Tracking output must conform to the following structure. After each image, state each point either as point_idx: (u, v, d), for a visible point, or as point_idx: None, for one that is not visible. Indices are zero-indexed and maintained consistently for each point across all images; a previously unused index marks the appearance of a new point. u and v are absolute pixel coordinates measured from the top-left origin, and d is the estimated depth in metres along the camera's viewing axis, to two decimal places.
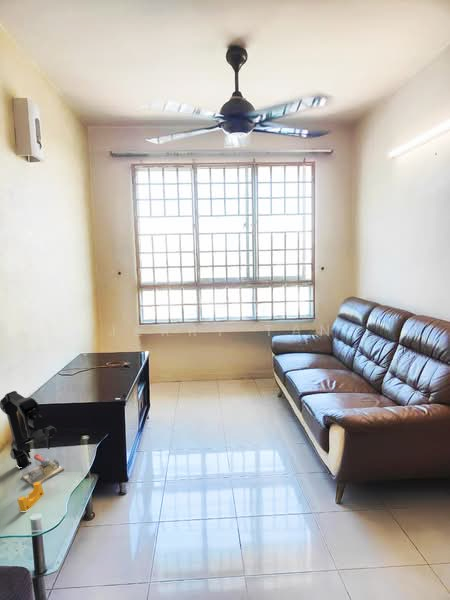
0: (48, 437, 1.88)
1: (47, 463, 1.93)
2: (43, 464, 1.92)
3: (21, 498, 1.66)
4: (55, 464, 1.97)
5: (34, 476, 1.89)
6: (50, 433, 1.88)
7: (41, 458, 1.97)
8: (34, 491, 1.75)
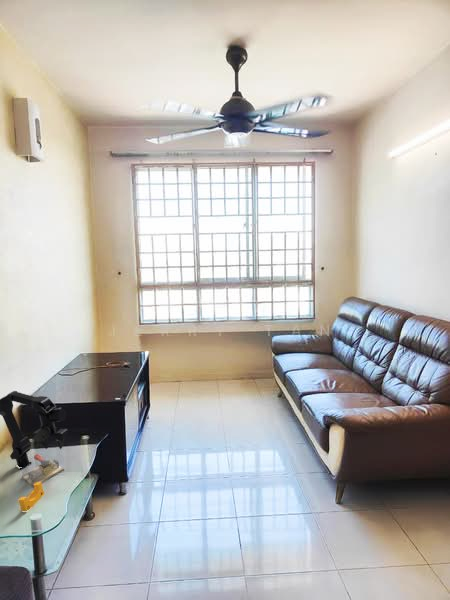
0: (56, 439, 1.96)
1: (47, 463, 1.93)
2: (43, 464, 1.92)
3: (22, 498, 1.66)
4: (55, 464, 1.97)
5: (34, 476, 1.89)
6: (55, 437, 1.95)
7: (41, 458, 1.97)
8: (35, 491, 1.75)
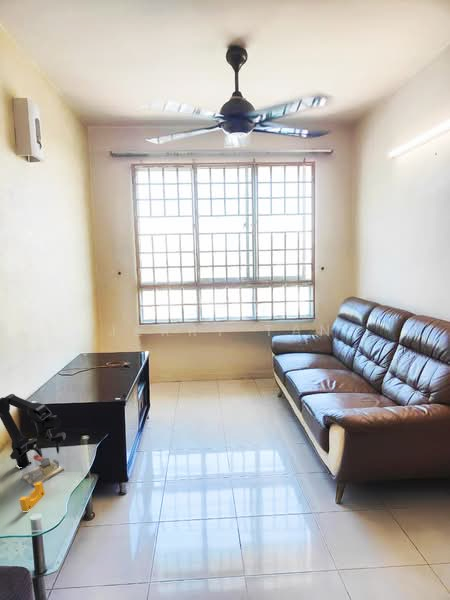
0: (55, 444, 1.99)
1: (47, 463, 1.93)
2: (43, 464, 1.92)
3: (23, 498, 1.66)
4: (55, 464, 1.97)
5: (34, 476, 1.89)
6: (56, 440, 1.98)
7: (41, 458, 1.97)
8: (35, 491, 1.75)
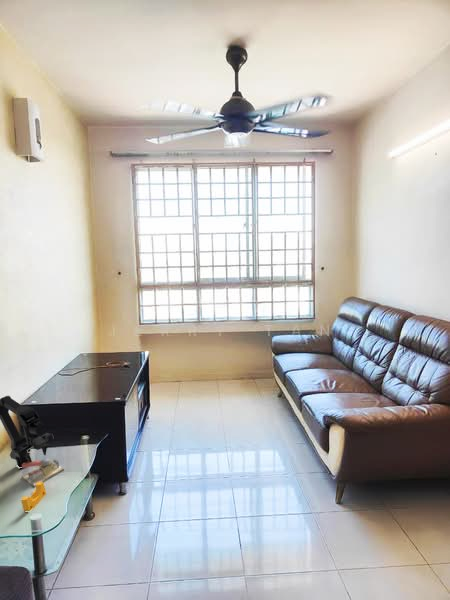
0: None
1: (49, 461, 1.94)
2: (46, 463, 1.93)
3: (24, 498, 1.66)
4: (55, 464, 1.97)
5: (34, 476, 1.89)
6: (48, 439, 2.01)
7: (36, 461, 1.94)
8: (37, 491, 1.74)
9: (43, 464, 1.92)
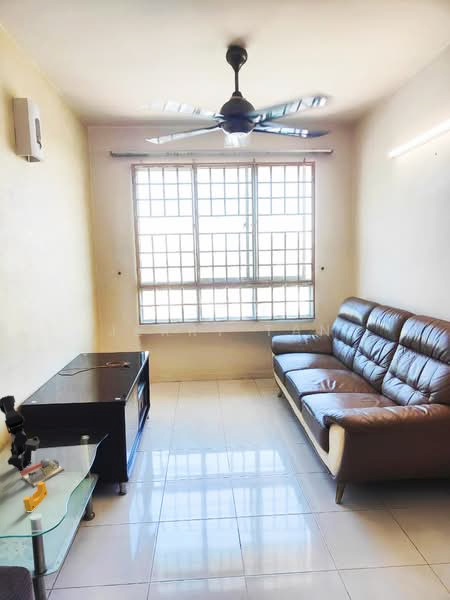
0: None
1: None
2: (48, 462, 1.94)
3: (27, 498, 1.66)
4: (55, 464, 1.97)
5: (34, 476, 1.89)
6: None
7: (36, 464, 1.91)
8: (38, 491, 1.74)
9: (46, 463, 1.93)
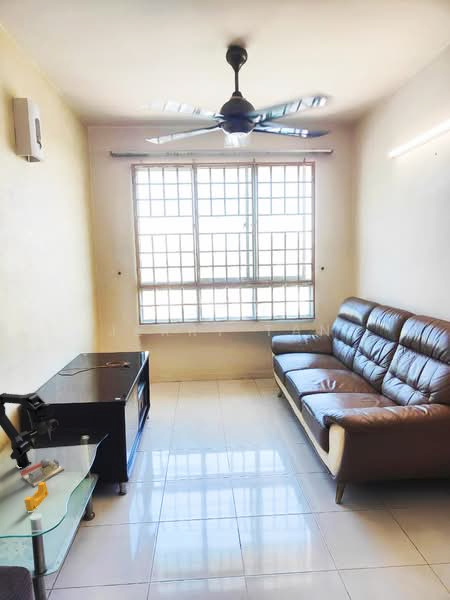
0: (51, 429, 2.03)
1: None
2: (48, 462, 1.94)
3: (28, 498, 1.66)
4: (55, 464, 1.97)
5: (34, 476, 1.89)
6: (53, 425, 2.03)
7: (36, 464, 1.91)
8: (39, 491, 1.74)
9: (46, 463, 1.93)
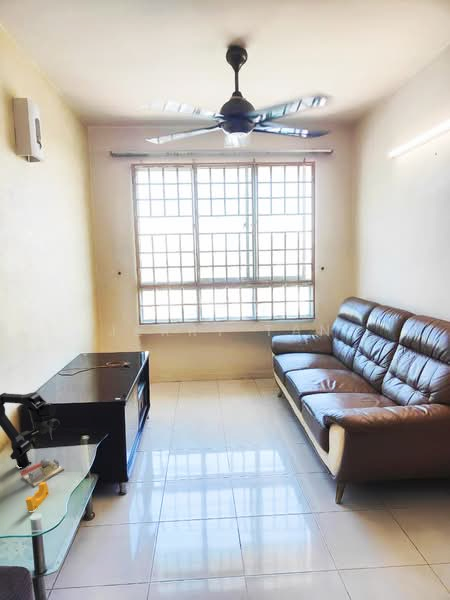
0: (52, 428, 2.04)
1: None
2: (48, 462, 1.94)
3: (29, 498, 1.66)
4: (55, 464, 1.97)
5: (34, 476, 1.89)
6: (54, 425, 2.04)
7: (36, 464, 1.91)
8: (40, 491, 1.74)
9: (46, 463, 1.93)
